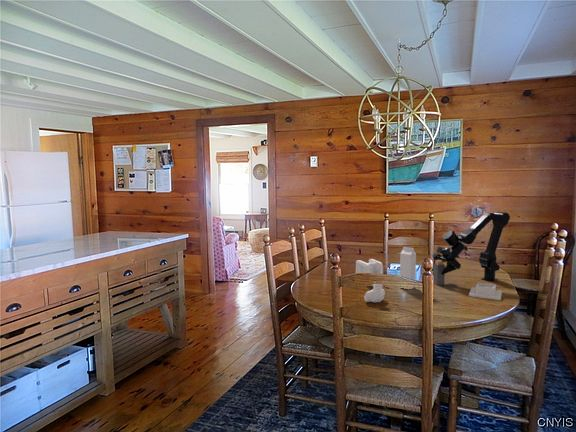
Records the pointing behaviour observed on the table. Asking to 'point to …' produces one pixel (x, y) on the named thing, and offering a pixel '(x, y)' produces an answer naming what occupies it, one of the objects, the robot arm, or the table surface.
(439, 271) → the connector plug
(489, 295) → the end holder
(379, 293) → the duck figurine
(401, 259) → the milk
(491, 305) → the table surface
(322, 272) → the table surface
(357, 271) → the cable organizer
